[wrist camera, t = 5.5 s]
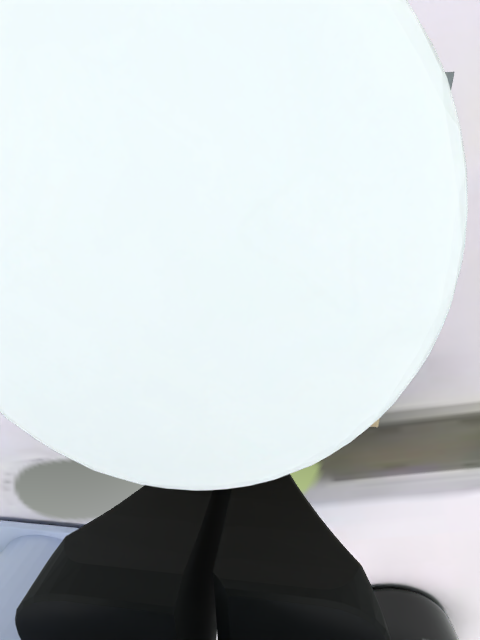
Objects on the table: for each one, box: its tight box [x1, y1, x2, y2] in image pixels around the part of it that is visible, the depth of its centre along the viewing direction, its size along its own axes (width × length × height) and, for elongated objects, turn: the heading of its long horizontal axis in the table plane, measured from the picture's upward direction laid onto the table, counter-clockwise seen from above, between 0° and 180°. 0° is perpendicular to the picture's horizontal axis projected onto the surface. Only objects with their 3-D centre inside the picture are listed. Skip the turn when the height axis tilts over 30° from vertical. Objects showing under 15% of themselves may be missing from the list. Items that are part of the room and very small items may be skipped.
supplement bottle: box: [0, 0, 468, 491], centre depth 6 cm, size 5×5×10 cm
